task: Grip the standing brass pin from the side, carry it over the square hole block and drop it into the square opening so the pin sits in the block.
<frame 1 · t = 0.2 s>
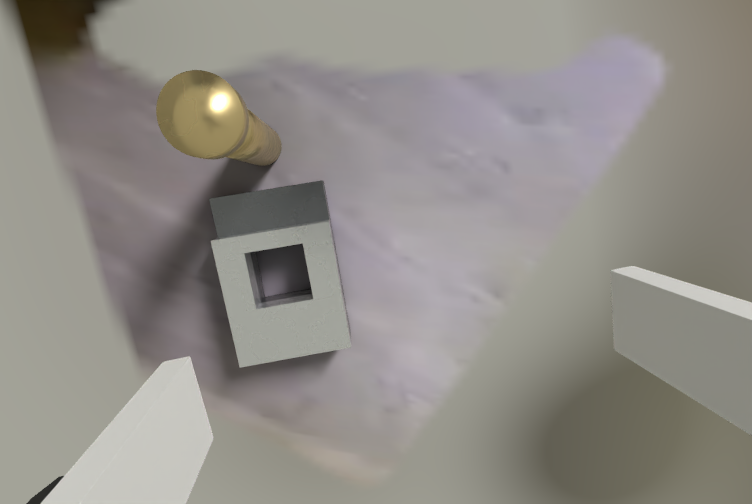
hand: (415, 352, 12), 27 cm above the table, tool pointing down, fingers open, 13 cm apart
square hole block: (285, 267, 39), on the table
brass pin: (261, 145, 37), on the table
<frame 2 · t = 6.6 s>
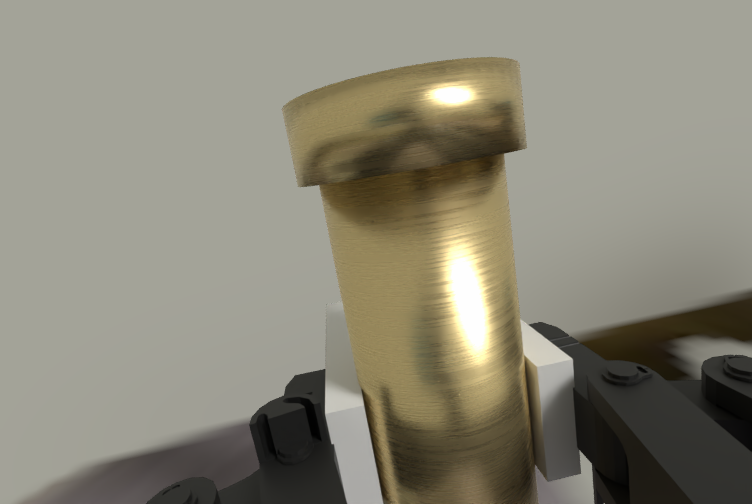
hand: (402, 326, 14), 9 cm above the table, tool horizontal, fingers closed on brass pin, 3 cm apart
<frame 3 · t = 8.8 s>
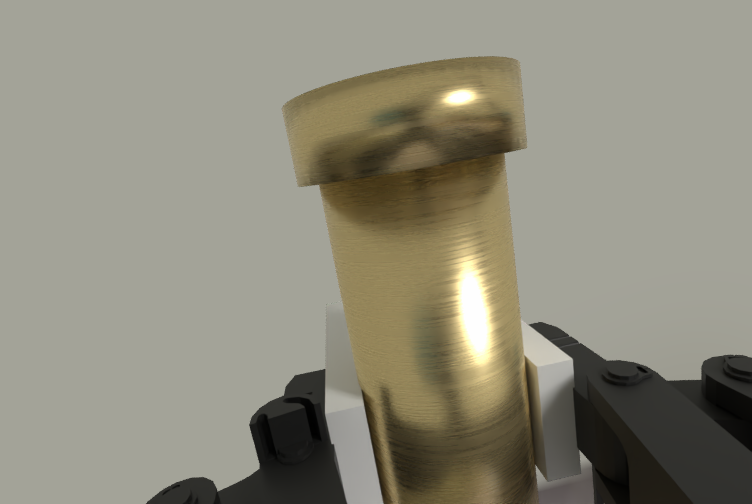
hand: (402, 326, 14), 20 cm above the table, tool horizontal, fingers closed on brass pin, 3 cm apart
when the fingers open (10 cm above the table, at t = 11.1 s): brass pin stays where it is, resting in square hole block.
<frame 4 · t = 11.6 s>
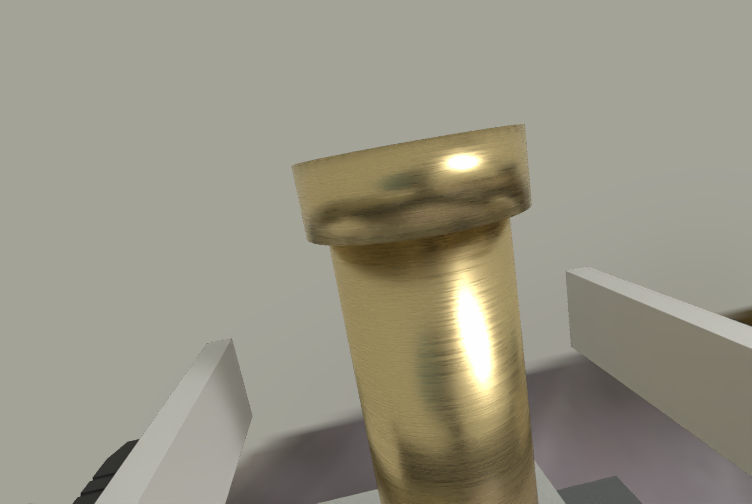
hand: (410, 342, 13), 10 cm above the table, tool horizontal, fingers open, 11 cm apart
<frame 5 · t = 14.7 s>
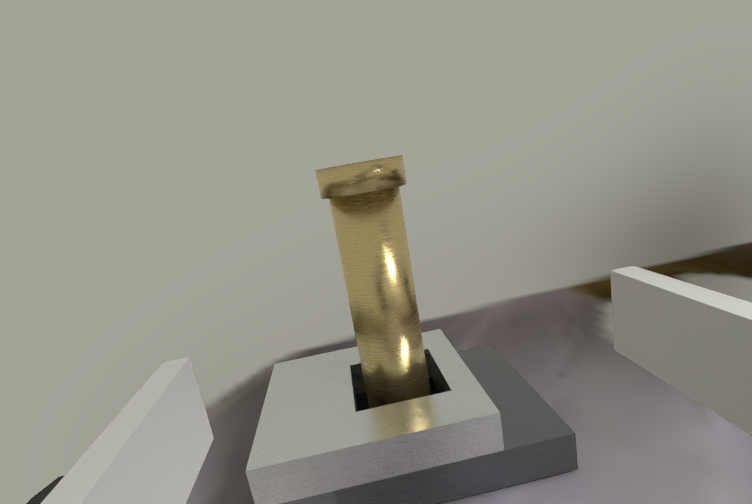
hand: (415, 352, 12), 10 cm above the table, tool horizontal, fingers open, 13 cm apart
square hole block: (406, 437, 24), on the table
brass pin: (406, 438, 24), resting in square hole block
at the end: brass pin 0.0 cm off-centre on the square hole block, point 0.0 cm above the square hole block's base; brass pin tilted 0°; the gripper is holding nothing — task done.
